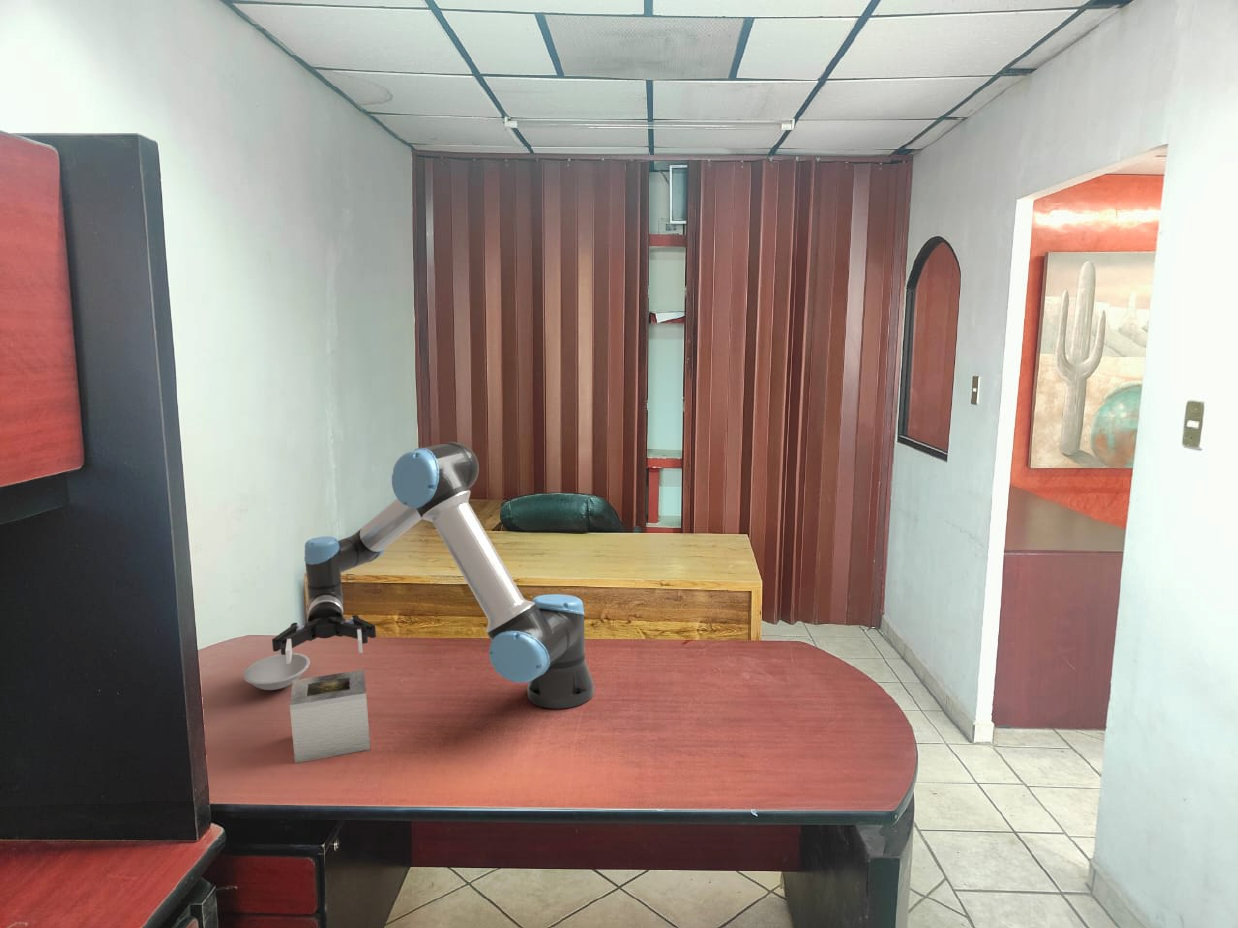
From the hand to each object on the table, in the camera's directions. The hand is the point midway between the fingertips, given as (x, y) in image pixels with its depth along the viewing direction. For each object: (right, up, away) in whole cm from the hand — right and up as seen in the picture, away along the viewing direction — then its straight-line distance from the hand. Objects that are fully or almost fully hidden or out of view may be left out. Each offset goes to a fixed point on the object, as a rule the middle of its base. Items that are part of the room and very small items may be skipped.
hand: (324, 651), depth 156 cm
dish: (-22, -16, +30) cm, 40 cm away
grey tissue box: (0, -19, +4) cm, 20 cm away
